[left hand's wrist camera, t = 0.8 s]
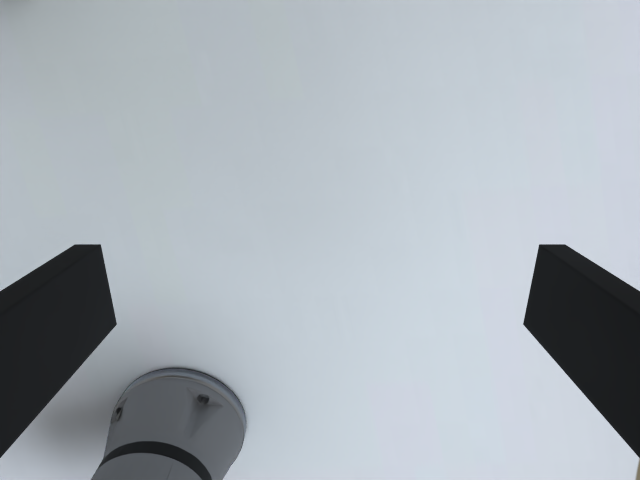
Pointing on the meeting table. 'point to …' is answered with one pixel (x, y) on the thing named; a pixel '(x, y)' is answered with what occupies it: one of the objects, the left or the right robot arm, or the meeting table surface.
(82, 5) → the meeting table surface
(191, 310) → the meeting table surface
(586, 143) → the meeting table surface
